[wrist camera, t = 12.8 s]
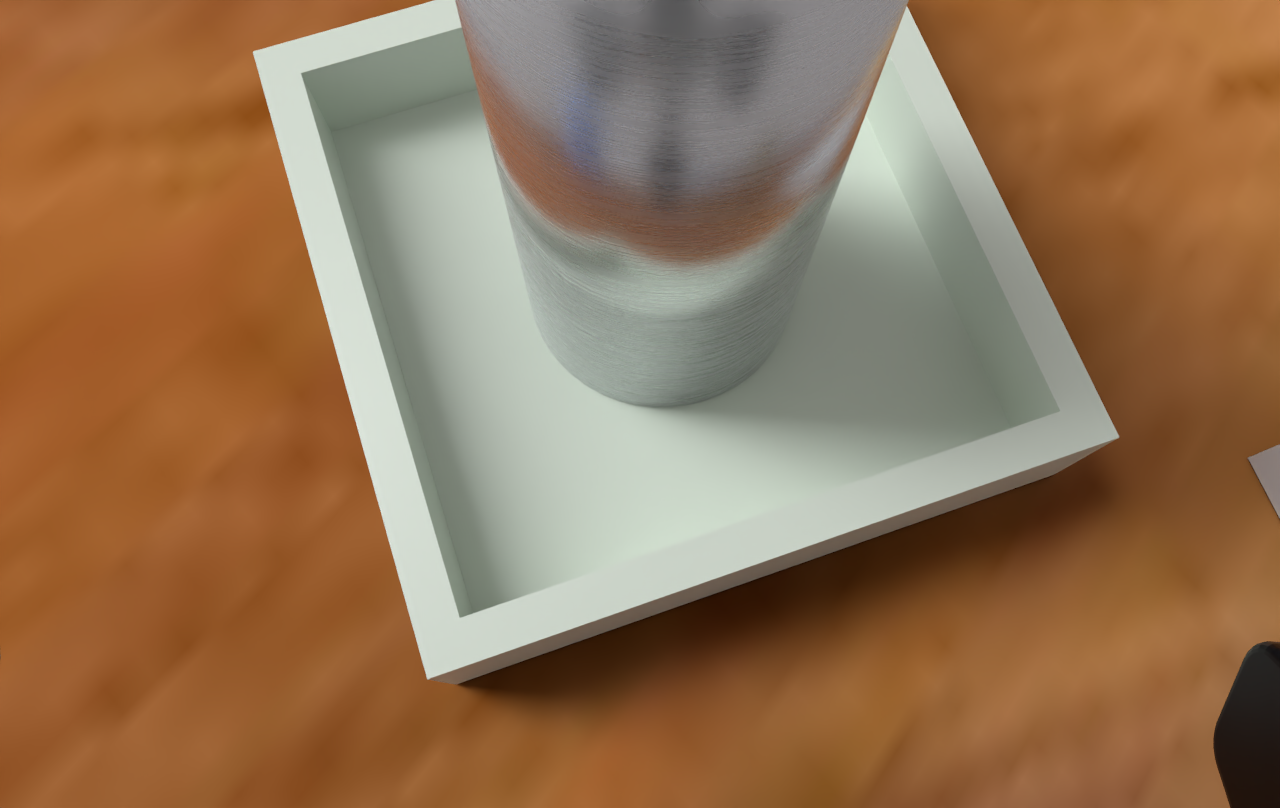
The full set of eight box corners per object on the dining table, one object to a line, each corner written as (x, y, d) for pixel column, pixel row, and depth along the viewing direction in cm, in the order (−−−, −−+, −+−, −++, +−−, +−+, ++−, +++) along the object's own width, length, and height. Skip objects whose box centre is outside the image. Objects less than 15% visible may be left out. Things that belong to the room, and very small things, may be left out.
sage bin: (1054, 474, 22) (1119, 437, 19) (456, 684, 20) (427, 678, 18) (822, -21, 25) (846, -116, 22) (298, 131, 24) (253, 51, 21)
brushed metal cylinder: (841, 247, 22) (1068, -277, 11) (701, 458, 21) (785, 122, 9) (624, 120, 23) (613, -492, 12) (475, 315, 22) (292, -157, 10)
